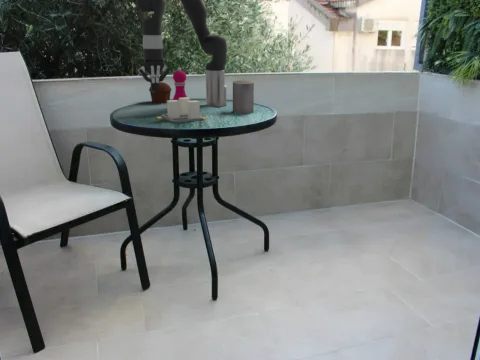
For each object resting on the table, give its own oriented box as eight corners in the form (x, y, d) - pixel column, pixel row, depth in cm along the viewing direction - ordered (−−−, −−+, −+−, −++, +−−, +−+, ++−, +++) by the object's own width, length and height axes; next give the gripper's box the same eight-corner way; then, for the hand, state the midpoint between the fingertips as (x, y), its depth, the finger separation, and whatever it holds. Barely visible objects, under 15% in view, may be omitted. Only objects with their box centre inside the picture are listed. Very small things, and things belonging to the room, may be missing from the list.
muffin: (176, 101, 238) (176, 82, 235) (162, 104, 229) (161, 84, 226) (159, 99, 244) (158, 80, 241) (144, 102, 235) (143, 82, 232)
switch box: (196, 115, 204) (196, 111, 203) (210, 121, 191) (210, 117, 191) (152, 119, 195) (152, 115, 194) (165, 126, 182) (164, 121, 182)
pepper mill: (191, 111, 214) (190, 67, 207) (184, 113, 207) (183, 68, 201) (177, 110, 216) (175, 66, 209) (170, 112, 209) (168, 67, 203)
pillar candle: (236, 109, 219) (236, 77, 214) (256, 110, 216) (256, 78, 211) (229, 113, 211) (229, 79, 206) (249, 114, 208) (250, 80, 203)
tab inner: (187, 114, 200) (187, 97, 198) (190, 115, 198) (190, 98, 195) (179, 115, 199) (178, 97, 196) (182, 116, 196) (181, 98, 193)
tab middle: (176, 117, 193) (176, 99, 191) (179, 119, 191) (179, 101, 188) (167, 118, 191) (167, 100, 189) (170, 120, 189) (169, 101, 186)
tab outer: (196, 118, 192) (196, 100, 190) (199, 119, 190) (199, 101, 187) (187, 119, 191) (187, 101, 188) (190, 120, 188) (190, 102, 185)
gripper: (165, 46, 185) (167, 90, 190) (133, 47, 178) (135, 92, 184) (172, 47, 178) (173, 92, 184) (139, 48, 172) (141, 94, 178)
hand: (154, 92), depth 184 cm, fingers closed
